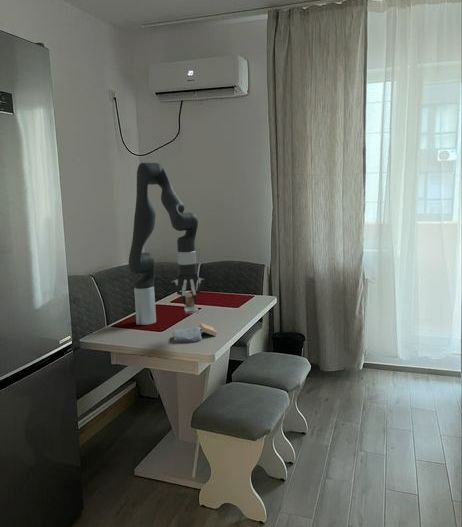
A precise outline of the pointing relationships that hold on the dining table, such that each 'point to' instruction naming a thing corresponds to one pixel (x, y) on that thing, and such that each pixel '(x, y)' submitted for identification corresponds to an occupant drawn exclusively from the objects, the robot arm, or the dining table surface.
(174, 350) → the dining table surface
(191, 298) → the spatula
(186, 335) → the stone block
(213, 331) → the tile
